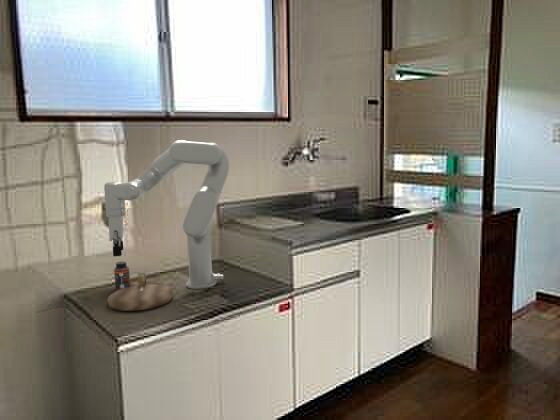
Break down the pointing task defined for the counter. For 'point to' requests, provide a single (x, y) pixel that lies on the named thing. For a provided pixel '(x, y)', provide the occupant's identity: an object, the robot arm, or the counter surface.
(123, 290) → the turntable
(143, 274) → the small hammer
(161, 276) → the counter surface
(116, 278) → the supplement bottle
